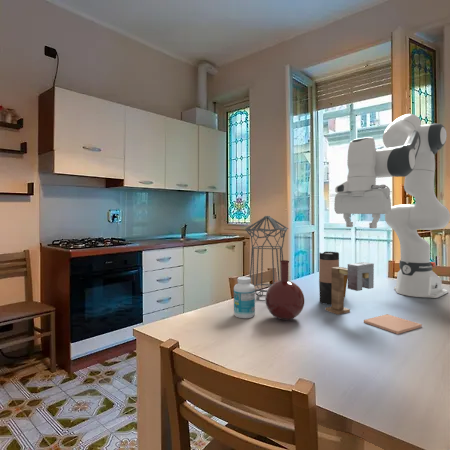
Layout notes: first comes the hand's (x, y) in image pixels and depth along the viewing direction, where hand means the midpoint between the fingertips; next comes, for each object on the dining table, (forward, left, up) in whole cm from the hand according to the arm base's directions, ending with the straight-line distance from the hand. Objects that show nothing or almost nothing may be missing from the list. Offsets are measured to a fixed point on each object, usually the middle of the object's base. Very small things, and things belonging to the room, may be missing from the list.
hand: (360, 227), depth 112 cm
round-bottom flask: (+22, -13, -31) cm, 40 cm away
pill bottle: (+32, -23, -31) cm, 50 cm away
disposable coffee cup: (-16, -25, -31) cm, 43 cm away
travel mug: (-6, -20, -31) cm, 38 cm away
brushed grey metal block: (0, 0, -21) cm, 21 cm away
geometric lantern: (+11, -38, -31) cm, 50 cm away
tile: (-4, +9, -31) cm, 33 cm away
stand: (0, -5, -31) cm, 31 cm away
